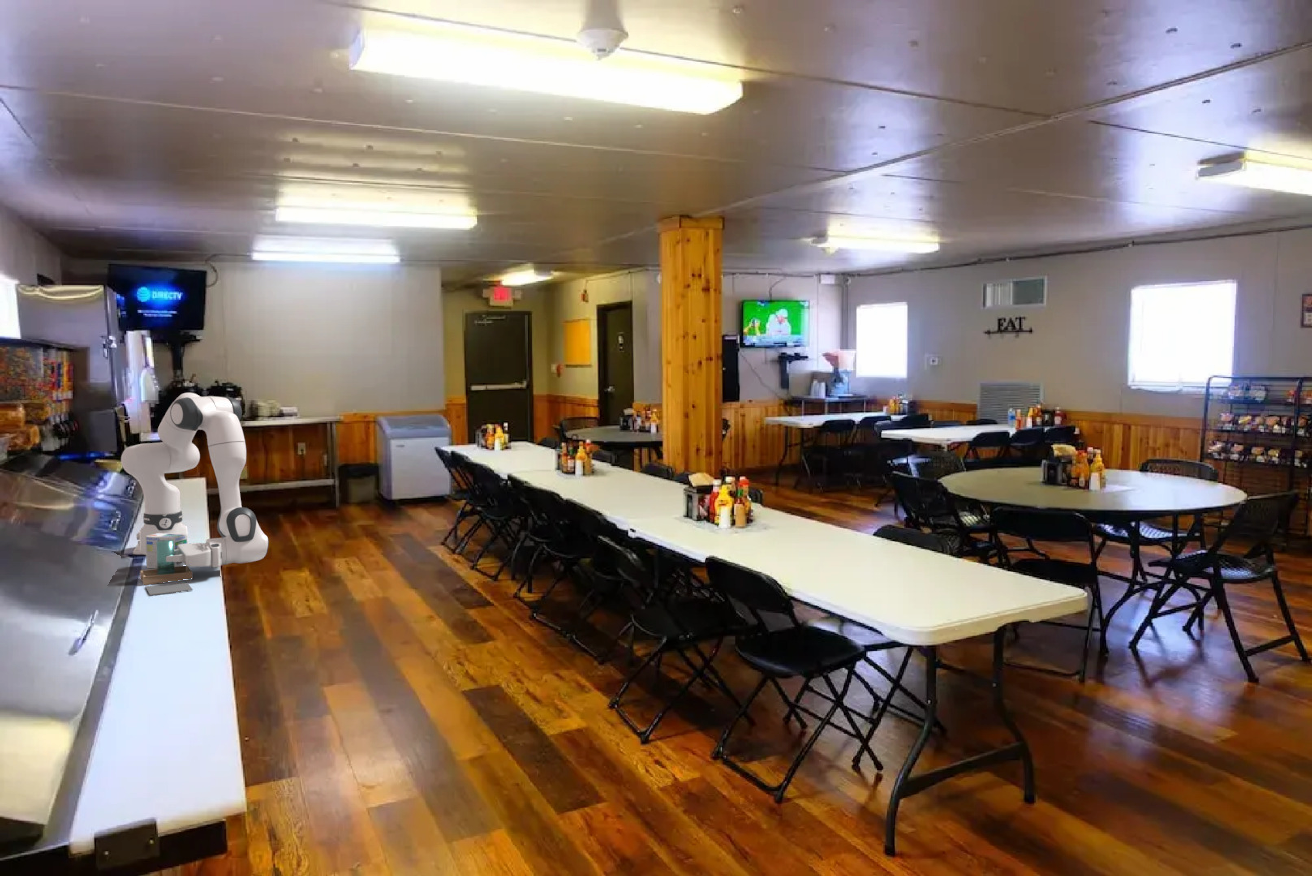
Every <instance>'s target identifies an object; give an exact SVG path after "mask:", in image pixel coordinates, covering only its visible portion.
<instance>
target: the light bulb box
mask: <svg viewBox="0 0 1312 876" xmlns="http://www.w3.org/2000/svg"><path fill="white" fill-rule="evenodd" d="M188 536H189V535H188ZM188 536H187V534H169V533H157V534H153V535H149V536H146V555H145V560H146V562H145V563H146V568H147V569H157V543H156V542H157V541H160V540H174V550H177V545H179V544H187V543H189V537H188ZM183 565H185V564H184V563H183V562H175V567H178V566H183Z"/></svg>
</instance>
